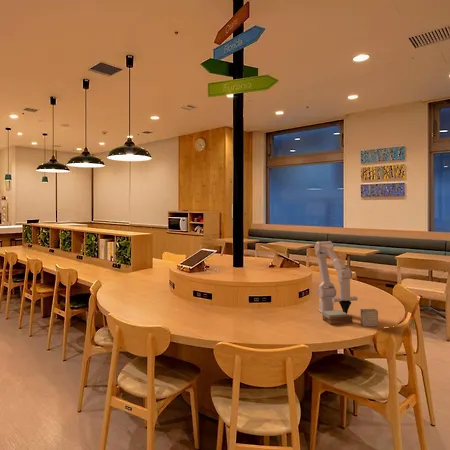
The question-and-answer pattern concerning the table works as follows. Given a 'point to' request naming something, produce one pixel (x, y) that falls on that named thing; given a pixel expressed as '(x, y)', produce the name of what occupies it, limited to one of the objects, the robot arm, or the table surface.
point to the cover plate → (333, 313)
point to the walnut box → (338, 320)
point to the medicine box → (369, 317)
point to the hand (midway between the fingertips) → (345, 313)
